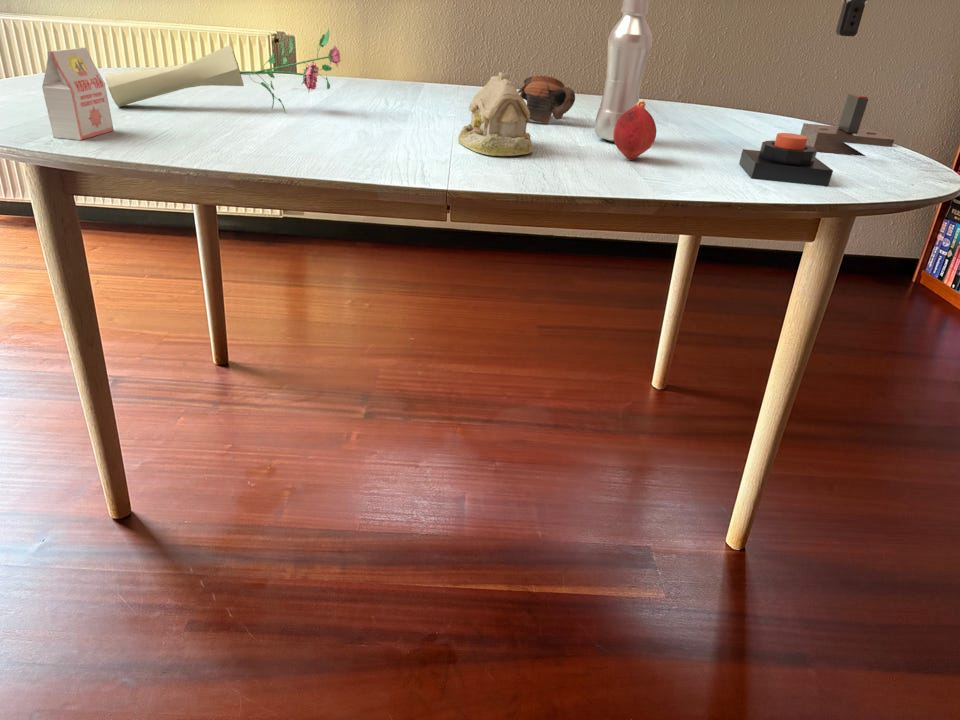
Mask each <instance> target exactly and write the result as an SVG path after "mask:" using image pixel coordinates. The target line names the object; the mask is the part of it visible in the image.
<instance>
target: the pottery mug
mask: <svg viewBox="0 0 960 720" xmlns="http://www.w3.org/2000/svg"><path fill="white" fill-rule="evenodd" d="M523 83H524V85H523V86H521V87H520V88H519V89H518V90H517V92H518V93H519V95H520V96H521V97H522V98H523V100H524V101H525V102H526V105H527V107H528V109H529V112H530V118H529V120H530V121H533V122H537V123H542V124H545V125H549V124H550V120H551V117H552V116H553V118H554V119H555V120H561V119H562V118H563V116H564V115H565V114H566V113H568V112H569V111H570V110H571V109H572V107H573V106H574V104H575V101H576V93H575V91H574V90H573V89H572V88H571V87H568V86H565V84H564V82H562V81H561V80H559V79H557V78H555V77H552V76H547V75H533V76H528V77H526V78H525V79H524V80H523Z"/></svg>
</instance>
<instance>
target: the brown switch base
mask: <svg viewBox="0 0 960 720" xmlns="http://www.w3.org/2000/svg"><path fill="white" fill-rule="evenodd" d="M838 126H839V124H838V125H828V124H827V125H826V124H814V123H805V122H804V123H803V124H802V127H801V131H800V133H799V135H803V136H806V137H808V140H807V144H806V145H808V146H811V147H814V148H815V149H817V153H829V154H839V155H850V156H860V157H866V154H864V153H862V152H860V151H859V150H857V149H855V148H854V147H852V146H850V145H849V144H857V145H866V146H877V147H887V148H888V147H889V148H892V147H893V145H894V143H895V139H894V138H892V137H890V136H888V135H885V134H883V133H881V132H880V131H877V130H875V129H868V128H859V130H858V133H857V134H853V133H847V132H845V131H843V130H841V129H839V128H838Z"/></svg>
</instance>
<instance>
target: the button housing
mask: <svg viewBox="0 0 960 720" xmlns="http://www.w3.org/2000/svg"><path fill="white" fill-rule="evenodd" d="M774 143H775V140H765V141H762V143H761V146H760V150H755V149H745V148H743V149H742V151H741V155H740V159H739V162H738V165H739V166H740V167H741V168H742V169H743V171H744V172H745V173H746V174H747V176H748V177H749V178H750V180H758V181H760V180H761V181H771V182H779V183H789V184H798V185H807V186H817V187H826V188H827V187H829V185H830V182H831V179H832V176H833V172H834V170H833V169H832V168H830V167H829V166H828V165H826V164H825V163H824V162H823V161H821V160H820V159H819V158H817V157H816V156H817V153H818V152H817V149H815V148H814V147H811V146H808V145H806V147H805V150H796V149H787V148H782V147H778V146H774Z"/></svg>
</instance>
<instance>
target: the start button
mask: <svg viewBox="0 0 960 720" xmlns="http://www.w3.org/2000/svg"><path fill="white" fill-rule="evenodd" d="M807 140H808V137H806V136H803V135H800V134H798V133H793V132H777V133H776V135H775V140H774V141H775V143H774V146H778V147H782V148H787V149H796V150H805V147H806V144H807Z"/></svg>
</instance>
